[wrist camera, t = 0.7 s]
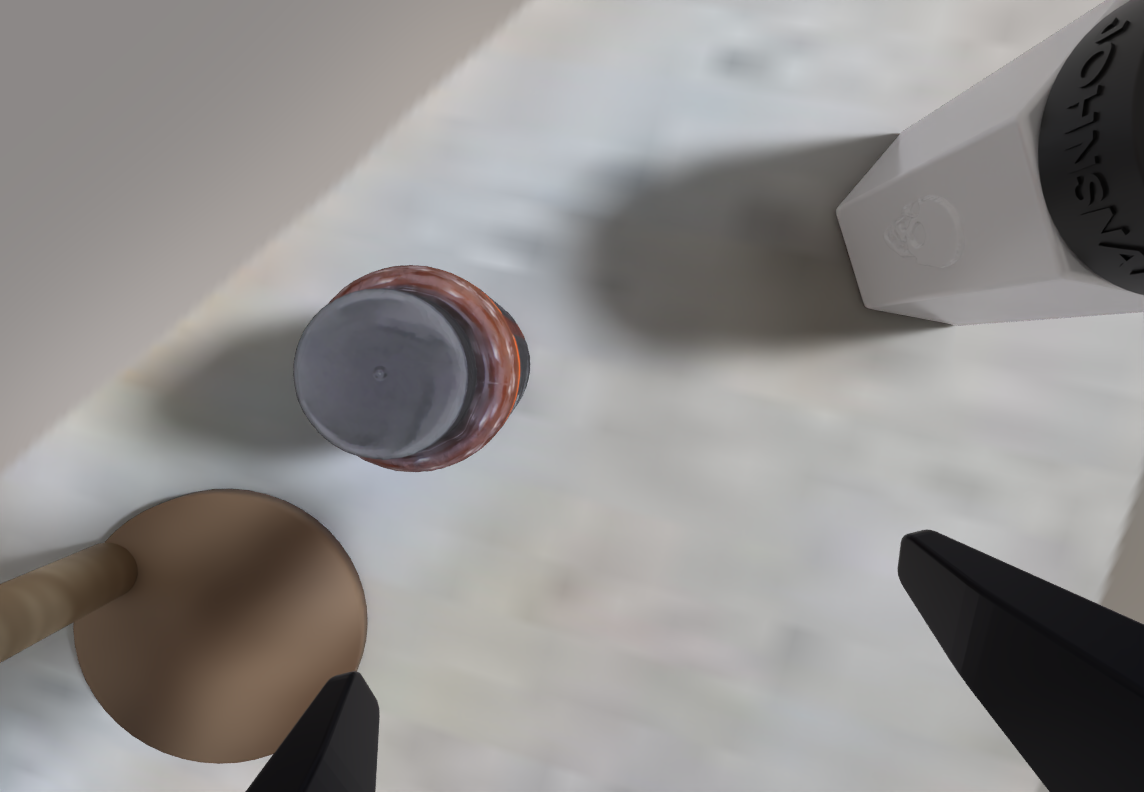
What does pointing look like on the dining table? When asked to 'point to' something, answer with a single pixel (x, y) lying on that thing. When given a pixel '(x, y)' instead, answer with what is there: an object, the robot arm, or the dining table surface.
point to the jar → (1016, 189)
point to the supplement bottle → (411, 368)
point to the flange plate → (201, 621)
